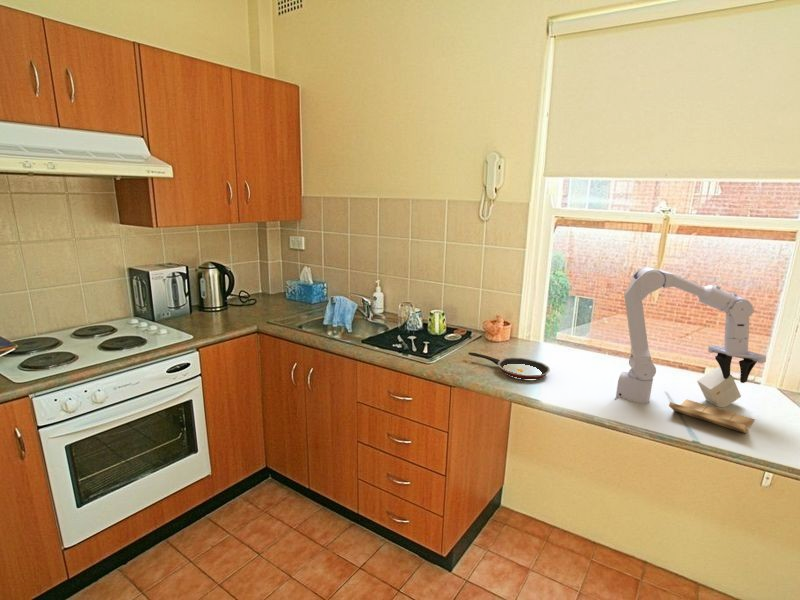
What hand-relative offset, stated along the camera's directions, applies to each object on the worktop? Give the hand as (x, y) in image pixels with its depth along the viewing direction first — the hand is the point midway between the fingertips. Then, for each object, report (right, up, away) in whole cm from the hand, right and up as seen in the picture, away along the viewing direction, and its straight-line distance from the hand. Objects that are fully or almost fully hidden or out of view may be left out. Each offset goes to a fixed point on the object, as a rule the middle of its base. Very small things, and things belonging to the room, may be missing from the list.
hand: (734, 379), depth 135 cm
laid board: (-6, -12, +1) cm, 13 cm away
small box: (+3, -8, +8) cm, 12 cm away
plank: (-13, -10, -7) cm, 18 cm away
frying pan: (-61, -3, +35) cm, 71 cm away
